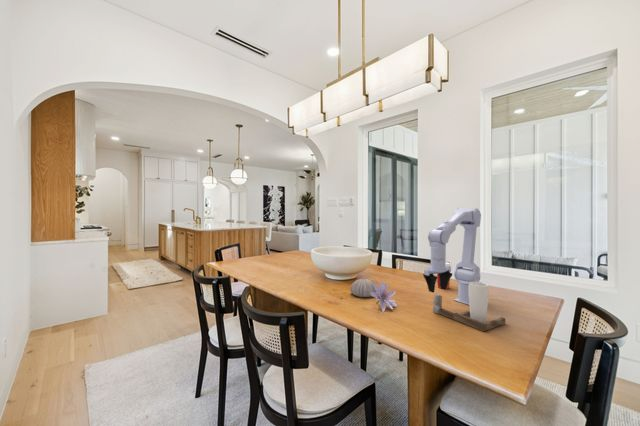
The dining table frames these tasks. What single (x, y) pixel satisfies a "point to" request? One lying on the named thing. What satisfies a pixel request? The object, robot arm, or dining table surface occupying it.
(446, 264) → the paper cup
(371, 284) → the sea urchin shell
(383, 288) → the water lily
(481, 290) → the drinking glass
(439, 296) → the sliding frame
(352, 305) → the dining table surface
